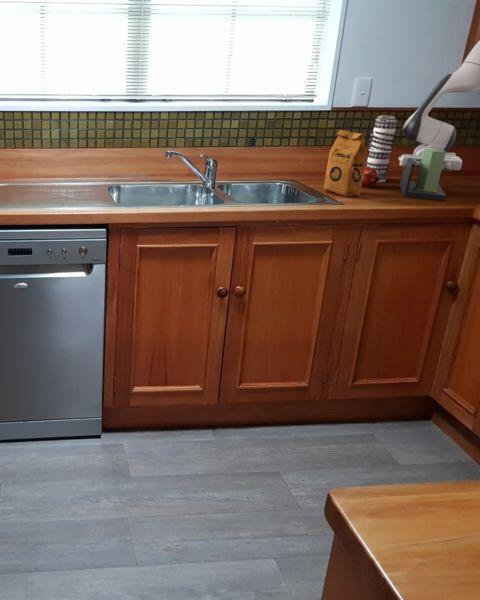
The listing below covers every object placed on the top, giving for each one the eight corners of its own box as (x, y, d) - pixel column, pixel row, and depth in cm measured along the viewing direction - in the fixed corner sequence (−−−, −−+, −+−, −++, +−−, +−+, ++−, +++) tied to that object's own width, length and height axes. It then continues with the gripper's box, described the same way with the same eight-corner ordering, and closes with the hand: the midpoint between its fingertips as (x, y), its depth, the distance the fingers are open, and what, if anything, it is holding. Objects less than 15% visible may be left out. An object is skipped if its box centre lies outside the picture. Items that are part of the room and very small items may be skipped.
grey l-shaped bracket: (437, 188, 233) (445, 157, 228) (444, 201, 214) (453, 166, 209) (399, 185, 237) (406, 154, 233) (403, 197, 219) (411, 163, 214)
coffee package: (342, 198, 215) (354, 134, 207) (318, 190, 226) (329, 129, 218) (364, 196, 219) (377, 133, 210) (339, 189, 229) (351, 129, 221)
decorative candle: (391, 182, 243) (405, 117, 233) (370, 182, 242) (383, 117, 232) (377, 177, 251) (390, 114, 242) (357, 177, 250) (369, 114, 240)
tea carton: (428, 187, 225) (437, 149, 219) (436, 190, 220) (446, 151, 215) (415, 187, 224) (424, 149, 219) (423, 190, 220) (432, 151, 214)
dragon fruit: (350, 186, 242) (374, 197, 232) (341, 175, 236) (365, 186, 227) (365, 168, 240) (389, 179, 231) (356, 157, 235) (381, 167, 226)
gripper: (399, 149, 233) (402, 154, 221) (460, 153, 226) (466, 159, 214) (395, 165, 236) (398, 171, 224) (455, 170, 229) (461, 176, 217)
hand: (432, 165), depth 219 cm, fingers open, 8 cm apart
